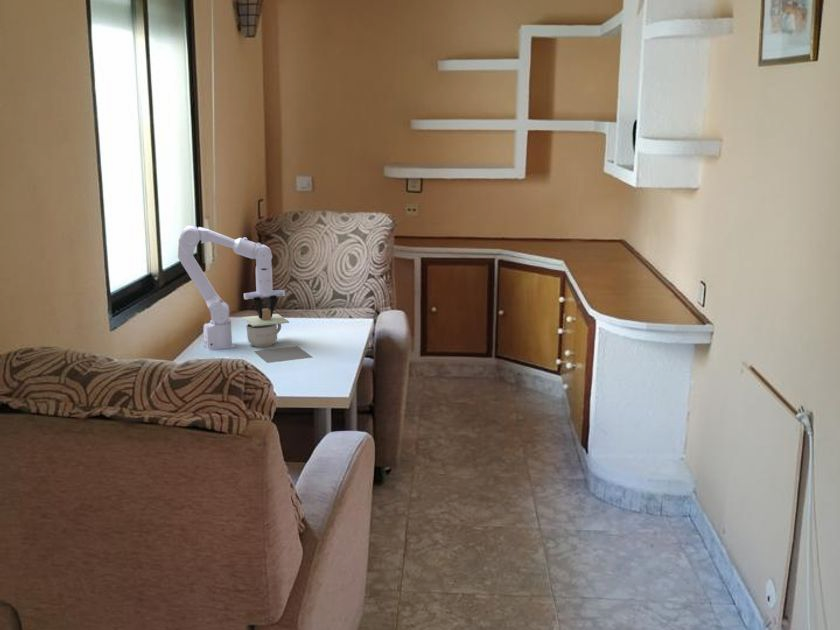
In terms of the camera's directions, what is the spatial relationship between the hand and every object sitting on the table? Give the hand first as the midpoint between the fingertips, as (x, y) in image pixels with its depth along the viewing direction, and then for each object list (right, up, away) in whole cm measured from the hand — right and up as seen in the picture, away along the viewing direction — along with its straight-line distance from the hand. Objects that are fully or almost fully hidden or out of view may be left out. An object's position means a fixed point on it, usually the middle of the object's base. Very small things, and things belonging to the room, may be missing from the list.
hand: (265, 317), depth 300 cm
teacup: (0, -10, +2) cm, 10 cm away
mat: (+8, -13, -11) cm, 19 cm away
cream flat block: (0, -1, 0) cm, 1 cm away
